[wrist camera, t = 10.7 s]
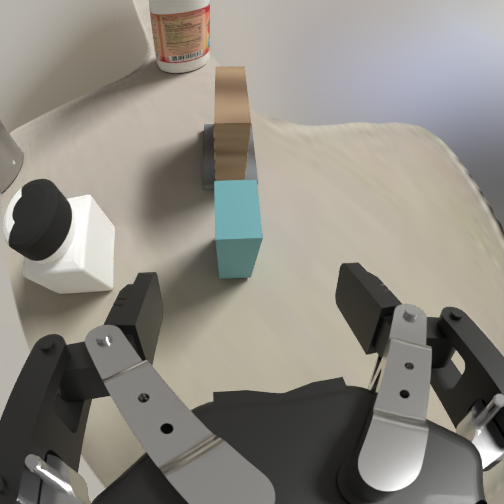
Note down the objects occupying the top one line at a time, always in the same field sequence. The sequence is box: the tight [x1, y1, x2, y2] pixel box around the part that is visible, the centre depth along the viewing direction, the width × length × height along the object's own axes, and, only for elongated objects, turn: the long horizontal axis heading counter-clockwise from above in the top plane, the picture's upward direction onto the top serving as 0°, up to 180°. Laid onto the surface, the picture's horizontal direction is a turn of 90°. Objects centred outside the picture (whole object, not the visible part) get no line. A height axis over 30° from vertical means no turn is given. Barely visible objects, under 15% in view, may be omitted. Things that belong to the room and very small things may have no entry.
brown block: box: [203, 67, 258, 189], centre depth 27 cm, size 10×6×10 cm, turn 4°
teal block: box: [214, 180, 263, 279], centre depth 23 cm, size 4×3×10 cm, turn 4°
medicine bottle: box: [3, 179, 115, 294], centre depth 20 cm, size 7×7×12 cm
